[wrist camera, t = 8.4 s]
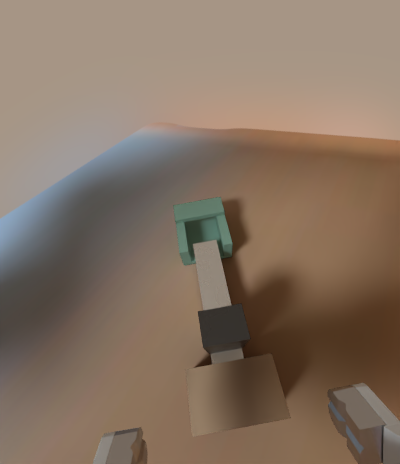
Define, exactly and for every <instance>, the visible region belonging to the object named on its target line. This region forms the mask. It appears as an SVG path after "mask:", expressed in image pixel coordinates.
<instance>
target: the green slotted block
mask: <svg viewBox="0 0 400 464" xmlns="http://www.w3.org/2000/svg"><path fill="white" fill-rule="evenodd" d="M173 207H174V216H175V222H176V227H177V236H178V244H179V253H180V256H181V258H182V261H183V263H184V265H190V264H195V263H196V260H195V254H194V248H193V244H196V243H201V242H207V241H212V240H217V245H218V249H219V253H220V258H221V259H222V258H227V257H232V240H231V236H230V233H229V229H228V225H227V222H226V218H225V212H224V208H223V204H222V201H221V197H216V198H211V199H205V200H200V201H195V202H189V203H184V204H178V205H173Z"/></svg>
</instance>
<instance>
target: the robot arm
mask: <svg viewBox="0 0 400 464" xmlns="http://www.w3.org/2000/svg"><path fill="white" fill-rule="evenodd" d="M328 397H329V399H330V400H331V402H330V403H329V405H328V407H329V413H330V416H331V419H332V421H333V423H334V425H335V427H336V429H337V431H338V432H339V433H340V434H341V435H342V436H344V437H345V438H347V447H348V448H349V450H350V452H351V453H352V455H353V456H354V458H355V460H356V461H357V463H358V464H381V463H383V464H400V421H399V420H398V419H397V418H396V417H395V415H394V414H393V413H392V412H391V411H390V410H389V409H388V408H387V407H386V406H385V404H384V403H383V402H382V401H381V400H380V399H379V398H378V397H377V396H376V395H375V394H374V392H373V391H372V390H371V389H370V388H369V387H368V386H367V385H366V384H364V383H359V384H354V385H347V386H343V387H338V388H334V389H329V390H328ZM142 436H143V432H142V429H141V427H139V428H133V429H128V430H122V431H115V432H110V433H105V434H104V435H103V437H102V438H101V441H100V444H99V447H98V450H97V453H96V456H95V458H94V461H93V464H147V445H146V442H145V441H144V440H143V439H142Z"/></svg>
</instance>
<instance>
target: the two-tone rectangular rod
mask: <svg viewBox="0 0 400 464" xmlns="http://www.w3.org/2000/svg"><path fill="white" fill-rule="evenodd" d="M193 248H194V254H195V260H196V267H197V273H198V279H199V285H200V291H201V298H202V304H203V311H198V316H199V322H200V329H201V336H202V343H203V348H204V349H205V350H206V351H207V352H208V353H209V354H211V360H212V364H217V363H223V362H228V361H233V360H239V359H244V357H243V352H242V348H243V347H244V346H245V345H246V344H247V342H248V341H249V340H250V335H249V331H248V327H247V323H246V320H245V316H244V312H243V308H242V304H236V305H231V301H230V296H229V292H228V288H227V283H226V279H225V275H224V270H223V266H222V262H221V258H220V253H219V249H218V245H217V240H212V241H207V242H201V243H196V244H193Z"/></svg>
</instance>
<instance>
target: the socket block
mask: <svg viewBox="0 0 400 464" xmlns="http://www.w3.org/2000/svg"><path fill="white" fill-rule="evenodd" d="M185 371H186V381H187V391H188V401H189V411H190V421H191V431H192V437H194V436H199V435H204V434H210V433H215V432H220V431H226V430H231V429H236V428H241V427H247V426H252V425H257V424H262V423H268V422H273V421H278V420H284V419H289V418H291V417H290V413H289V410H288V407H287V403H286V400H285V397H284V393H283V390H282V386H281V383H280V380H279V376H278V373H277V370H276V366H275V363H274V359H273V356H272V353H271V354H265V355H260V356H255V357H249V358H244V359H239V360H233V361H228V362H223V363H217V364H212V365H207V366H201V367H196V368H191V369H185Z"/></svg>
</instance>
